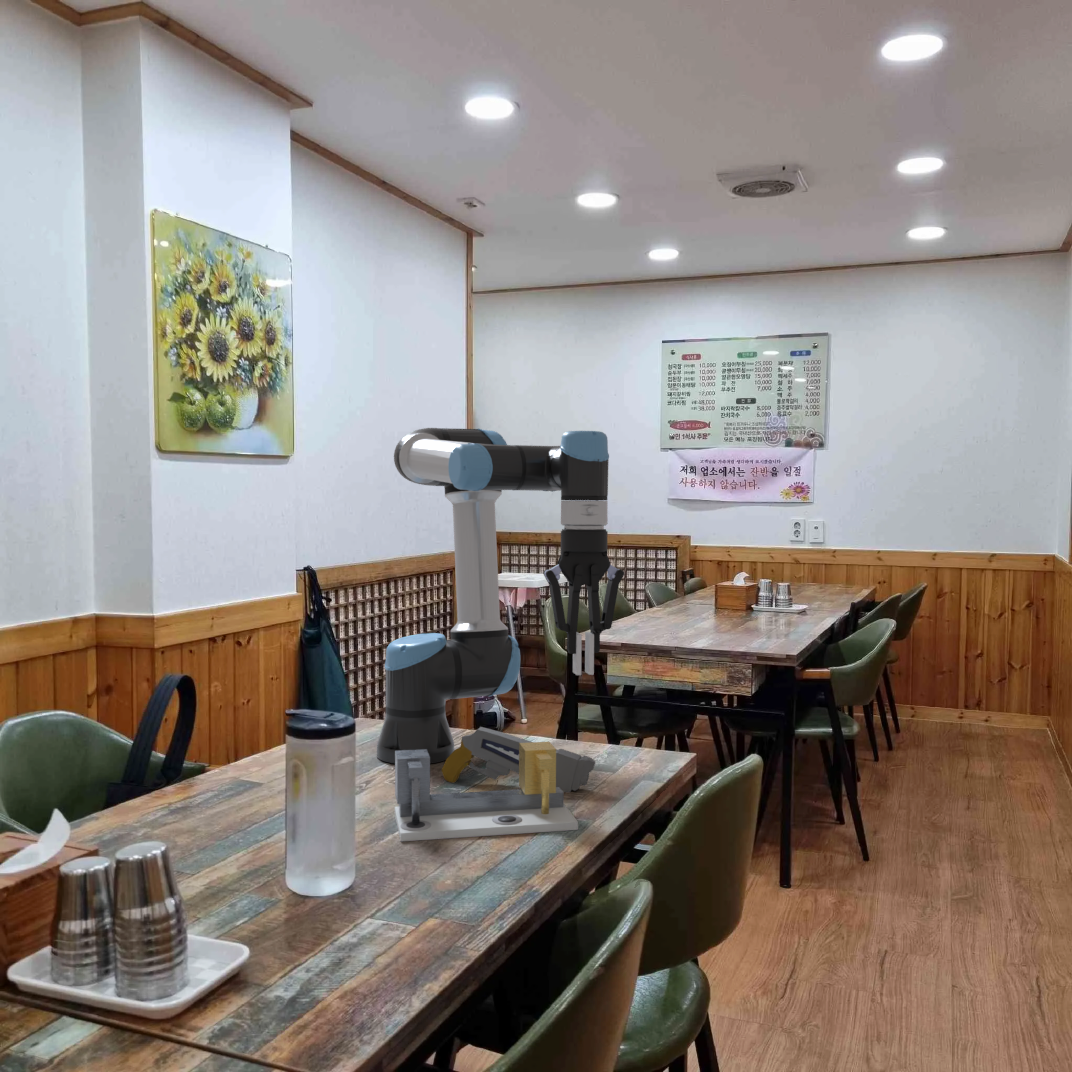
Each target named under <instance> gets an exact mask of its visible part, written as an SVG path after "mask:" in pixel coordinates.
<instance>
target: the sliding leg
mask: <svg viewBox="0 0 1072 1072" xmlns="http://www.w3.org/2000/svg"><path fill="white" fill-rule="evenodd" d="M556 749H557V748H556V747H555V746H554V745H553V744H552V743H551V742H550V741H536V742H535V741H531V743H519V774H518V786H519V789H522V791H523V792H524V794H525V795H528V794H541V814H549V793H556Z"/></svg>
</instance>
